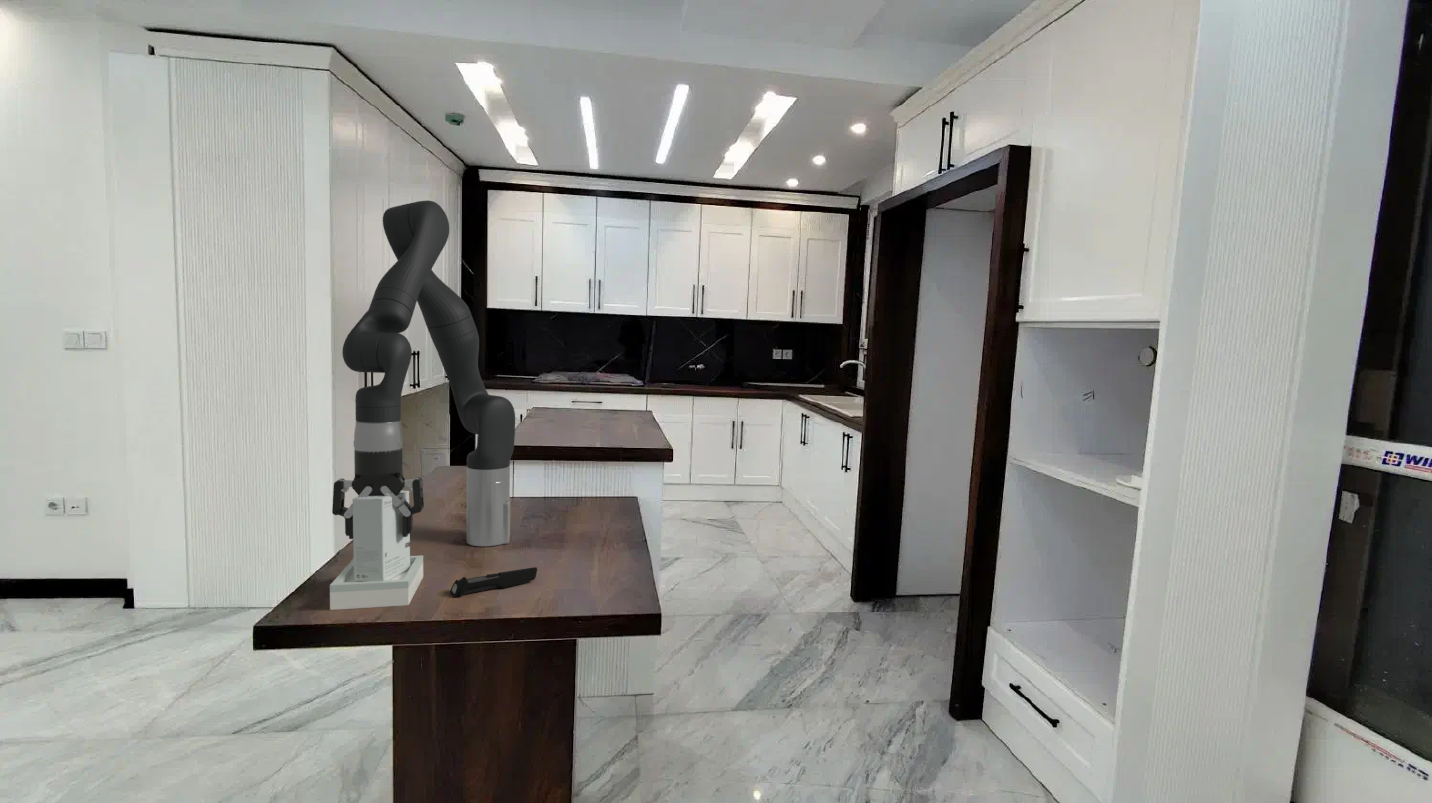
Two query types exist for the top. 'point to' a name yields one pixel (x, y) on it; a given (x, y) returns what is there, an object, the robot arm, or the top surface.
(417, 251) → the robot arm
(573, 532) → the top surface
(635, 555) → the top surface
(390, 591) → the white open tray
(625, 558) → the top surface
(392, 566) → the skincare box
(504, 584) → the electric trimmer
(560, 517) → the top surface
